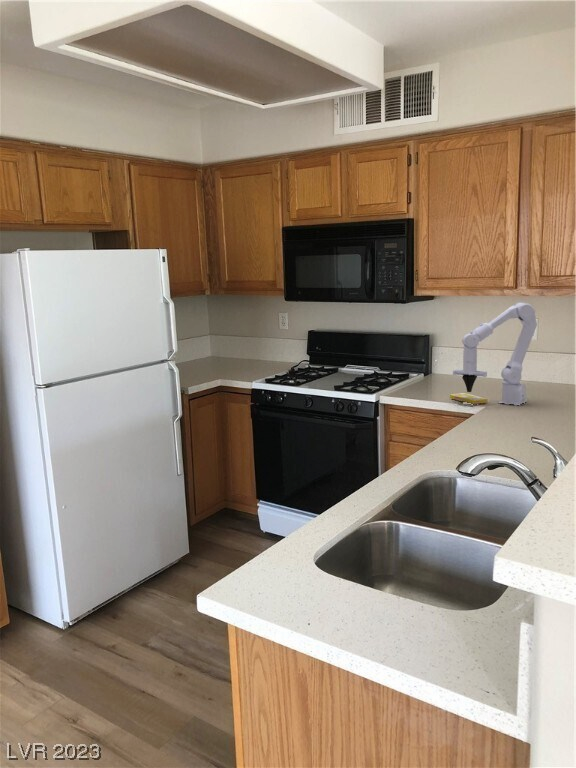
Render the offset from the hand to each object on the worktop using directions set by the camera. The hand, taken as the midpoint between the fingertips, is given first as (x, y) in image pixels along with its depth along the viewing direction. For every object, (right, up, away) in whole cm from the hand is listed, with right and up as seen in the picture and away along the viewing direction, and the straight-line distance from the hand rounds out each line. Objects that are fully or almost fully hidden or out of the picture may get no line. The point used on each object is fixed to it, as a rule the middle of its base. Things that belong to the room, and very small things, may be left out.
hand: (469, 391), depth 271 cm
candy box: (-3, -4, +4) cm, 6 cm away
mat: (+1, -5, +1) cm, 5 cm away
